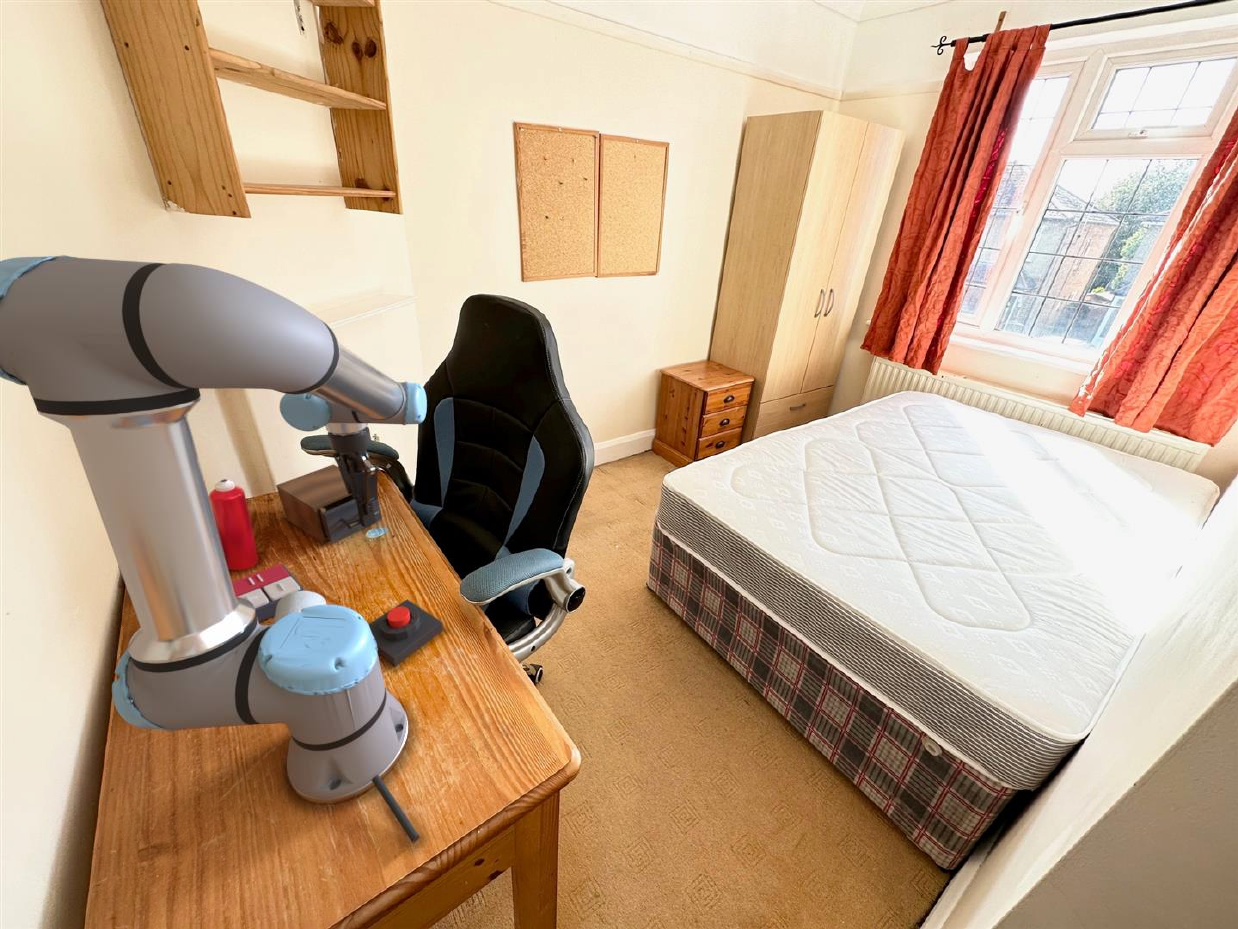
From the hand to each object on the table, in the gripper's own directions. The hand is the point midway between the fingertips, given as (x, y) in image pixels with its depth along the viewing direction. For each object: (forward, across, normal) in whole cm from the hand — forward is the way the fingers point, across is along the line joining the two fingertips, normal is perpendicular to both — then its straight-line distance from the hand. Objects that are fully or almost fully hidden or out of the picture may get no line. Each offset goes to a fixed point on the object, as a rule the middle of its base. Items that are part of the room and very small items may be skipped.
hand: (368, 523), depth 108 cm
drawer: (+4, +10, 0) cm, 11 cm away
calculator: (+5, -1, +25) cm, 26 cm away
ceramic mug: (+5, -16, +22) cm, 28 cm away
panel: (+5, -29, +13) cm, 32 cm away
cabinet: (+5, +16, 0) cm, 17 cm away
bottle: (+5, +14, +20) cm, 25 cm away
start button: (+1, -29, +13) cm, 32 cm away
